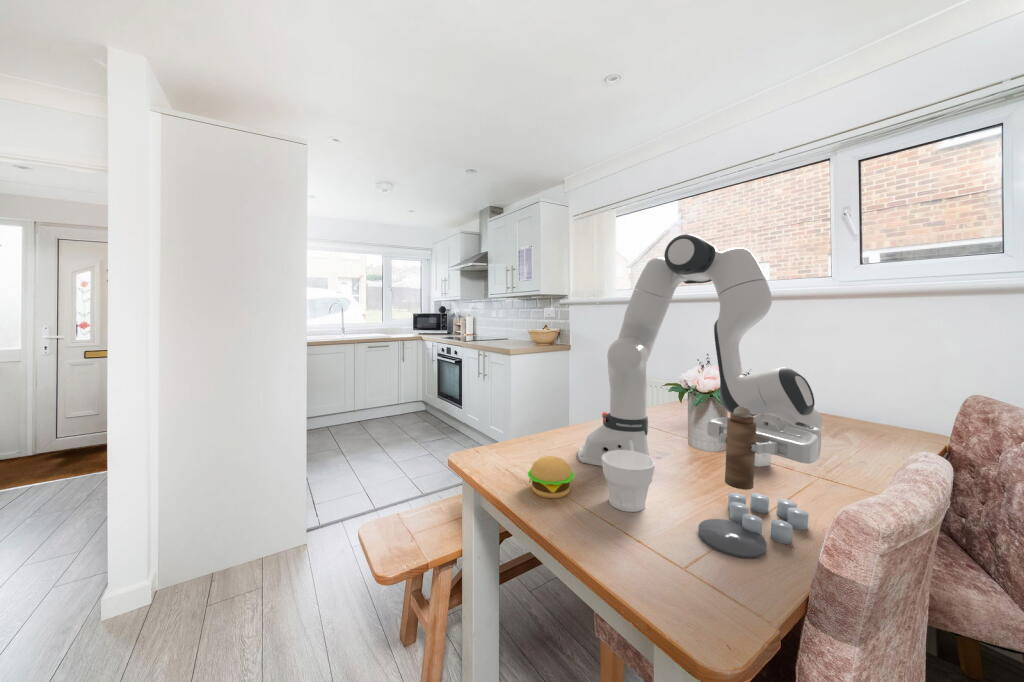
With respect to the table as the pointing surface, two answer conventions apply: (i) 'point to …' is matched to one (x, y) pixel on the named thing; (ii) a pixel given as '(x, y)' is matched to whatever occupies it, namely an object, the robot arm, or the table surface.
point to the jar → (762, 459)
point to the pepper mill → (740, 449)
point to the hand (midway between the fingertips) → (738, 444)
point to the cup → (627, 478)
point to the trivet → (732, 538)
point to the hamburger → (551, 477)
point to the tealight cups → (760, 504)
